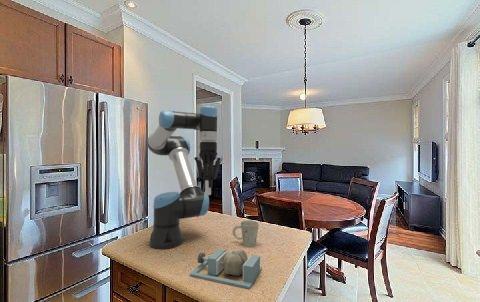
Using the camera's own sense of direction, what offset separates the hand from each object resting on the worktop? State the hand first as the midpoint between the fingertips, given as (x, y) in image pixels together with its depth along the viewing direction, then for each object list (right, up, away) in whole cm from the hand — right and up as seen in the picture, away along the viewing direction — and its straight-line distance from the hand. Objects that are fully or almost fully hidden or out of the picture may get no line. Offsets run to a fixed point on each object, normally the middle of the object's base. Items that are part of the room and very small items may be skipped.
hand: (208, 194), depth 108 cm
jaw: (+3, -24, -17) cm, 30 cm away
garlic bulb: (+12, -25, -20) cm, 34 cm away
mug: (+17, -25, +8) cm, 31 cm away
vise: (+9, -25, -19) cm, 33 cm away
